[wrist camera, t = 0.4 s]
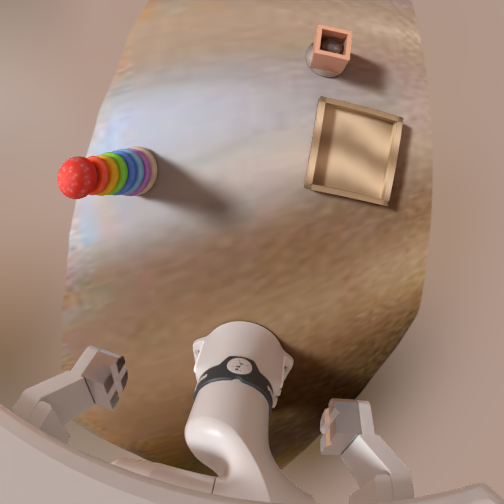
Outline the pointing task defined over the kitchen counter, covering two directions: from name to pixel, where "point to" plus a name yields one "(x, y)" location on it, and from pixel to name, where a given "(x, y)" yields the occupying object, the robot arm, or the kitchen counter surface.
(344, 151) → the tray
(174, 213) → the kitchen counter surface
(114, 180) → the stacking toy
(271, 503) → the robot arm
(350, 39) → the collar
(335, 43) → the silver knob
